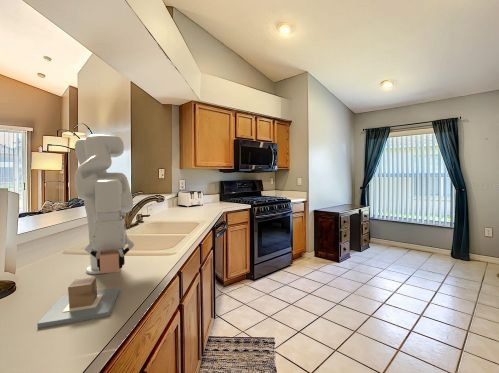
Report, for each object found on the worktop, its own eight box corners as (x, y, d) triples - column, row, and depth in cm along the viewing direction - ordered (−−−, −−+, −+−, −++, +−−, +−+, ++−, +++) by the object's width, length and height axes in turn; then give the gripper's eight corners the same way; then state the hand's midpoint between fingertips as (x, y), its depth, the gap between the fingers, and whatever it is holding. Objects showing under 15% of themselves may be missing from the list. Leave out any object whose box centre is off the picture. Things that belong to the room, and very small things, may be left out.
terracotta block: (104, 267, 91) (103, 250, 91) (121, 265, 93) (120, 249, 92) (100, 273, 86) (99, 255, 86) (118, 271, 88) (117, 254, 87)
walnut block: (76, 299, 77) (74, 279, 76) (97, 296, 78) (96, 276, 78) (69, 308, 71) (67, 287, 71) (92, 305, 73) (90, 284, 73)
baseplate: (62, 299, 80) (62, 294, 80) (119, 290, 85) (119, 286, 85) (37, 328, 65) (37, 322, 65) (108, 316, 70) (108, 311, 69)
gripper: (137, 212, 94) (139, 261, 96) (83, 215, 89) (86, 266, 91) (135, 217, 87) (137, 269, 88) (75, 220, 82) (79, 275, 83)
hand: (111, 267), depth 89 cm, fingers closed on terracotta block, 5 cm apart
